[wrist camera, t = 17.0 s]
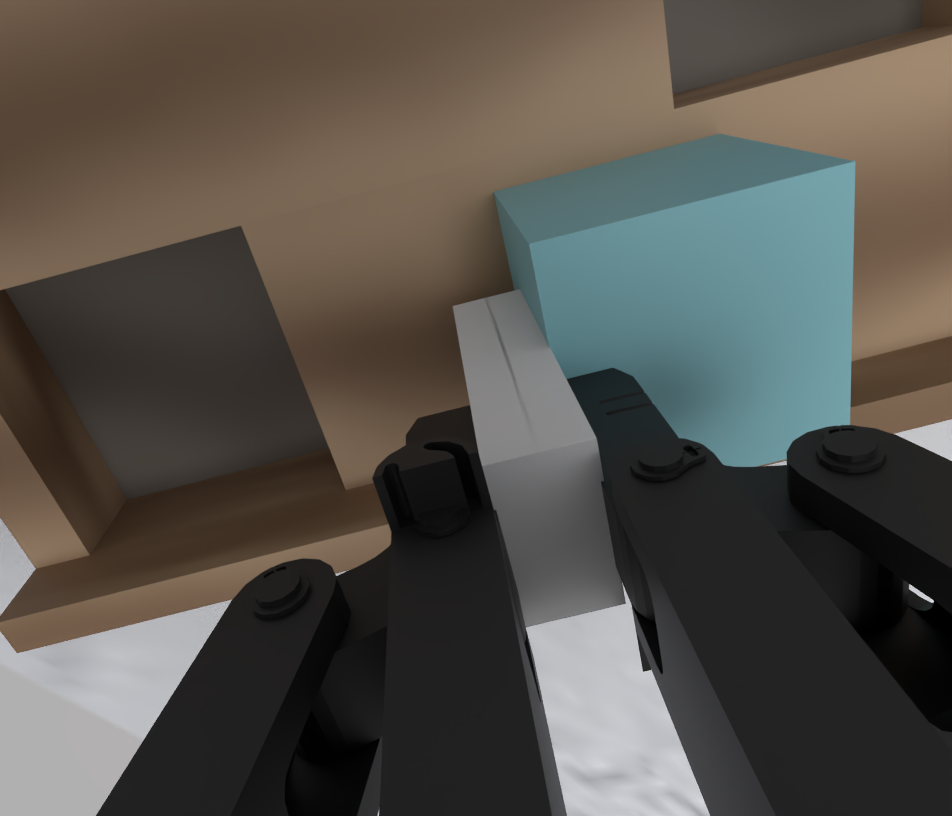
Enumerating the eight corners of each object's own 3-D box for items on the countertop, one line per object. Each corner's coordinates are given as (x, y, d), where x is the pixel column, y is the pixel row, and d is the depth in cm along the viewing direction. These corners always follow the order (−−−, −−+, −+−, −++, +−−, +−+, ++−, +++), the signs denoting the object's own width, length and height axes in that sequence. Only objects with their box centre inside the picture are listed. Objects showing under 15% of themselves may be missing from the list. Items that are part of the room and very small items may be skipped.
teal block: (493, 191, 15) (529, 244, 10) (720, 133, 15) (855, 160, 10) (536, 394, 17) (581, 509, 13) (733, 345, 17) (849, 443, 12)
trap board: (-240, -24, 15) (-530, -67, 10) (1329, -476, 13) (1785, -748, 9) (100, 530, 21) (17, 652, 17) (1167, 257, 20) (1382, 310, 16)
